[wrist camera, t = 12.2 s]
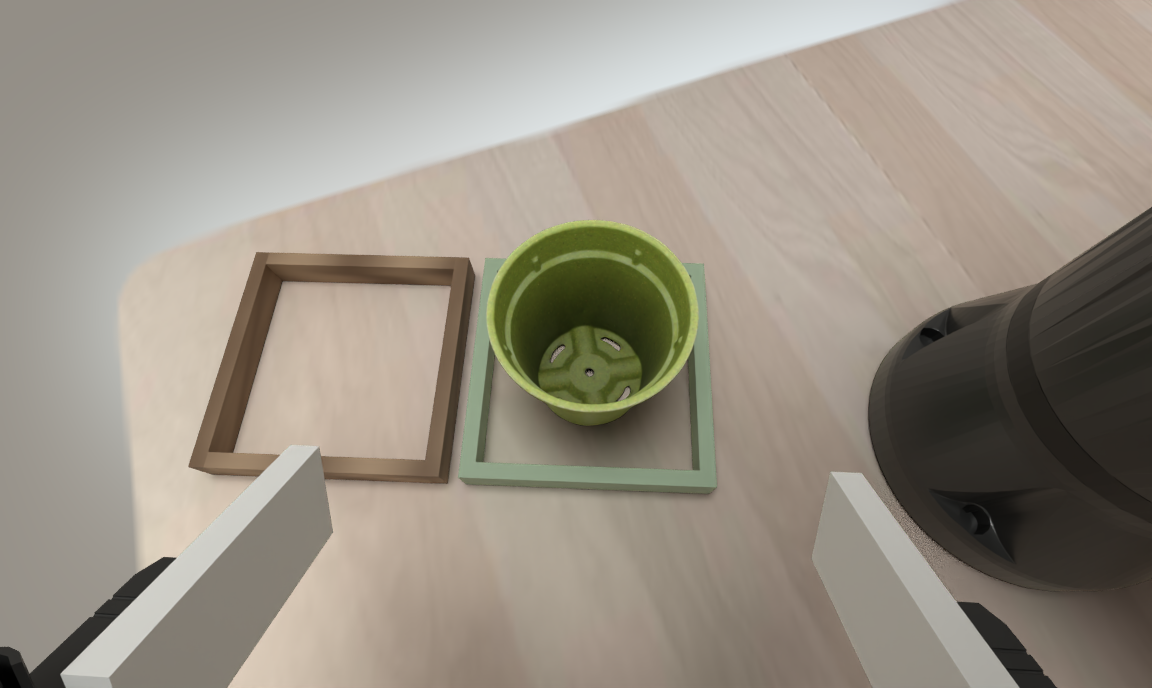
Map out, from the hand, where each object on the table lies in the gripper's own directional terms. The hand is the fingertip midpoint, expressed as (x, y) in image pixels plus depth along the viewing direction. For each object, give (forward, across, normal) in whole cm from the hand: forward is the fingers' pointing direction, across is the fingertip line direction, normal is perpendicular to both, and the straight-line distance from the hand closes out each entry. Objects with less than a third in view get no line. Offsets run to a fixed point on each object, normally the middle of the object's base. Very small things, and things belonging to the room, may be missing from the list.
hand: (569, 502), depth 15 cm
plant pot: (+18, 0, -4) cm, 18 cm away
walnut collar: (+18, -14, -4) cm, 23 cm away
